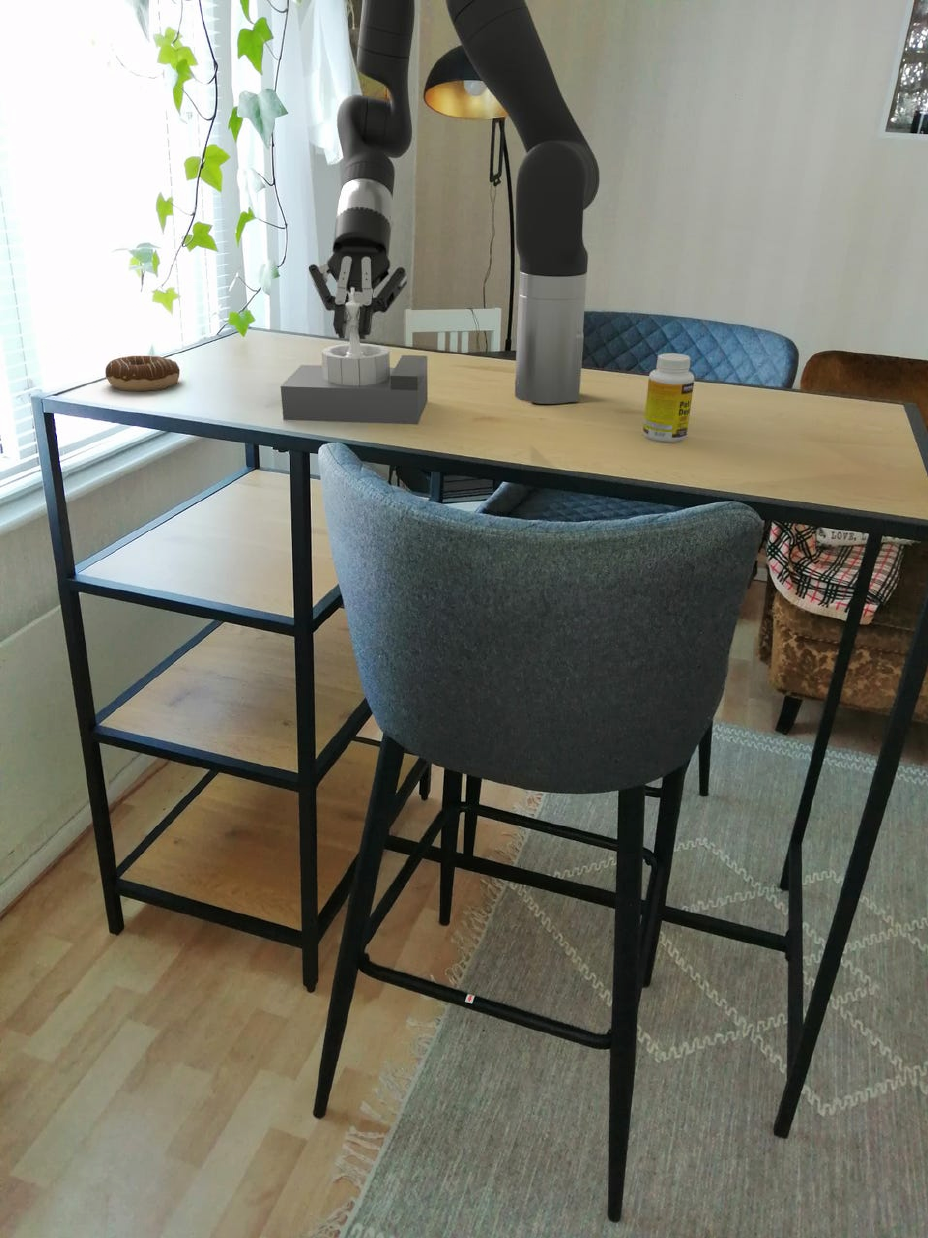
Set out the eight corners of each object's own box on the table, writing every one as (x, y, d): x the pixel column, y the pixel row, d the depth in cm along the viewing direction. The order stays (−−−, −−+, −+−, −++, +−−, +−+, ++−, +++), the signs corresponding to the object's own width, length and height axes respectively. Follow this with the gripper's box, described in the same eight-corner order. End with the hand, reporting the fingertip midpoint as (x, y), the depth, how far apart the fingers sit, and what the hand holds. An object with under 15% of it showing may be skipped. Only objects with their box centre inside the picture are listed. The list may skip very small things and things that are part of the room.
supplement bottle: (679, 446, 115) (689, 363, 111) (636, 439, 118) (645, 357, 113) (692, 435, 120) (702, 354, 115) (650, 428, 122) (659, 349, 117)
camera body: (427, 400, 133) (427, 343, 129) (417, 424, 122) (417, 363, 119) (303, 396, 134) (299, 339, 130) (283, 419, 123) (278, 358, 120)
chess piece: (376, 361, 127) (374, 285, 123) (370, 370, 123) (367, 291, 118) (341, 360, 128) (338, 283, 123) (333, 368, 124) (329, 290, 119)
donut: (95, 393, 135) (90, 365, 133) (123, 375, 144) (119, 349, 142) (167, 395, 134) (163, 367, 132) (191, 377, 143) (188, 351, 141)
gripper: (308, 203, 123) (293, 316, 118) (411, 206, 122) (401, 320, 118) (318, 241, 130) (305, 349, 125) (416, 244, 130) (406, 353, 125)
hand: (351, 334), depth 121 cm, fingers closed on chess piece
